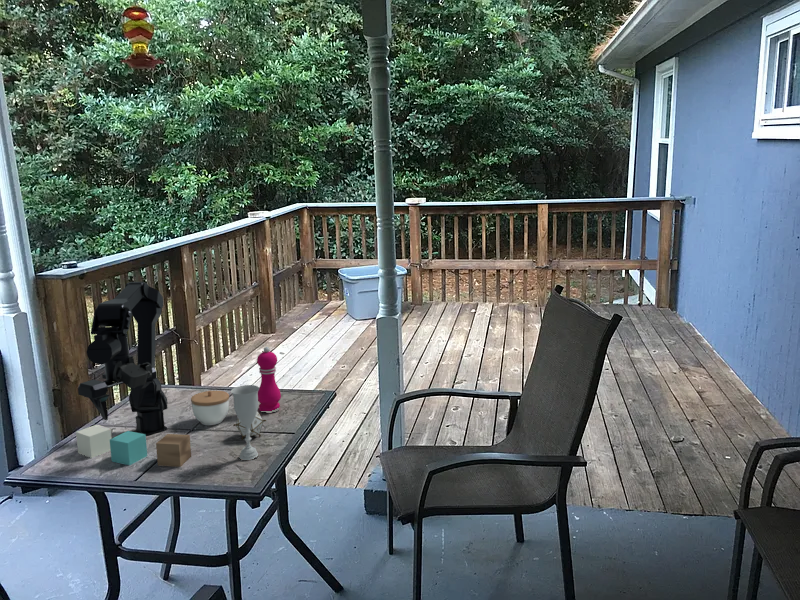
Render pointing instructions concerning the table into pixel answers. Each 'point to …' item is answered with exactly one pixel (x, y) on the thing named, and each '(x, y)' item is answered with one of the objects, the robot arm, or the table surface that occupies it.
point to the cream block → (93, 441)
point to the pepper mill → (268, 381)
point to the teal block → (128, 447)
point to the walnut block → (173, 450)
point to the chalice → (246, 414)
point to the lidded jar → (210, 406)
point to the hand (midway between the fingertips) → (121, 414)
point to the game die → (251, 426)
